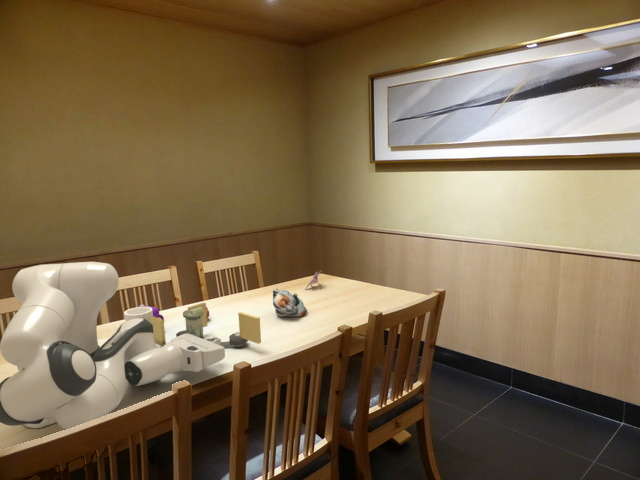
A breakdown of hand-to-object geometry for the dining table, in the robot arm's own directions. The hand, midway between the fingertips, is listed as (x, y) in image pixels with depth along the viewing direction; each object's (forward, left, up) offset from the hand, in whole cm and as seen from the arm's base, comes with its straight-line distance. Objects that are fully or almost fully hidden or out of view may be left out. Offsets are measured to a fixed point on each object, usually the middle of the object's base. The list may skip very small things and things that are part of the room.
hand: (218, 339), depth 148 cm
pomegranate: (+20, +39, -8) cm, 45 cm away
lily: (+84, +31, -8) cm, 90 cm away
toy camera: (0, +45, -8) cm, 46 cm away
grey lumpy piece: (+47, +14, -8) cm, 50 cm away
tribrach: (+2, +16, -8) cm, 18 cm away
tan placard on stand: (+13, +2, -6) cm, 15 cm away
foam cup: (-8, +35, -8) cm, 37 cm away
